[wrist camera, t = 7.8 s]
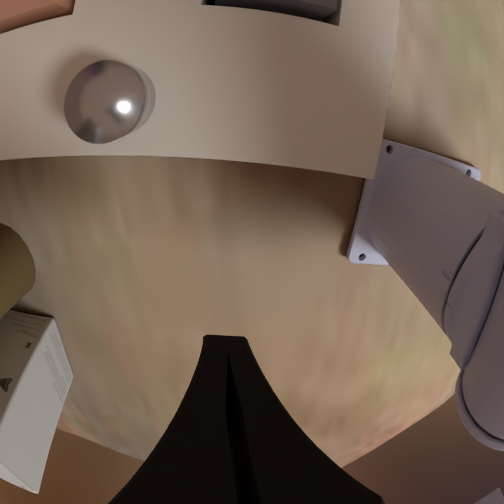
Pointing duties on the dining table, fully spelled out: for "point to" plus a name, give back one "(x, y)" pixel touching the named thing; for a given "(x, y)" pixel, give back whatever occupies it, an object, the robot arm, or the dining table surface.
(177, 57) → the block
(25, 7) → the button
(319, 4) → the button
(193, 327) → the dining table surface
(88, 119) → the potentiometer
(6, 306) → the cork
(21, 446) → the supplement box
